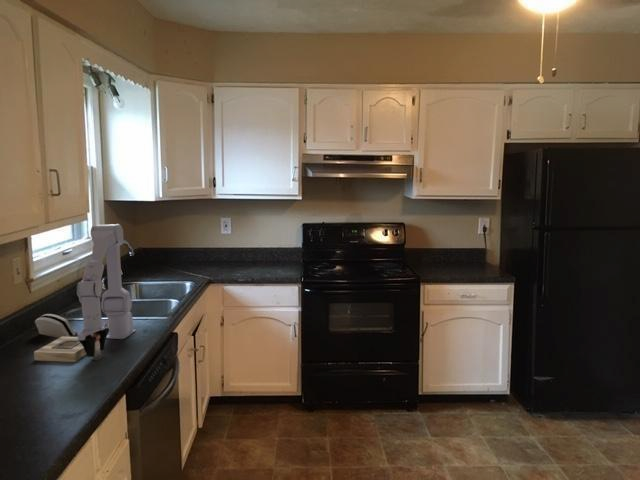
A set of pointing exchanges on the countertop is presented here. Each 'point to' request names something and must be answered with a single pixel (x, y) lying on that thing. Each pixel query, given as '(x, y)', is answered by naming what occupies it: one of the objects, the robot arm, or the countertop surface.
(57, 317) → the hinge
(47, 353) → the block
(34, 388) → the countertop surface
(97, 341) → the pin
